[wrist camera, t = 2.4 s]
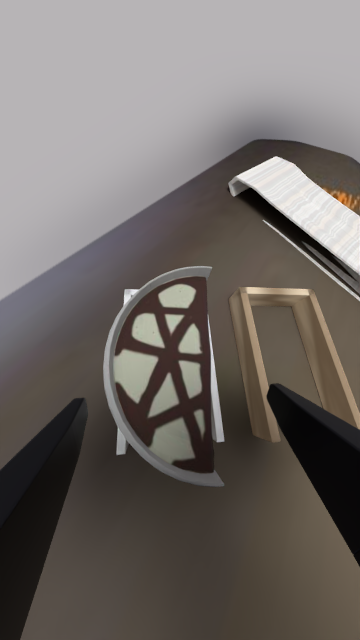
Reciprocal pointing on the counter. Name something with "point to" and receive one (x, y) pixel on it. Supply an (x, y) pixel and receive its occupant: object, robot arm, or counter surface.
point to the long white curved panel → (308, 214)
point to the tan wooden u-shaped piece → (316, 347)
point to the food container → (165, 375)
